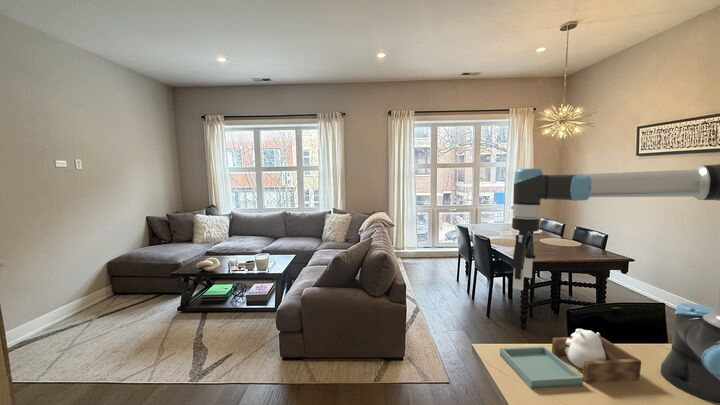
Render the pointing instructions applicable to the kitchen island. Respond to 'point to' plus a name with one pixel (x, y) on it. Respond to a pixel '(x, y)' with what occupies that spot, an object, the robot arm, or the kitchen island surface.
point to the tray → (540, 367)
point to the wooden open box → (604, 363)
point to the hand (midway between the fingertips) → (522, 282)
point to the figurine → (584, 347)
